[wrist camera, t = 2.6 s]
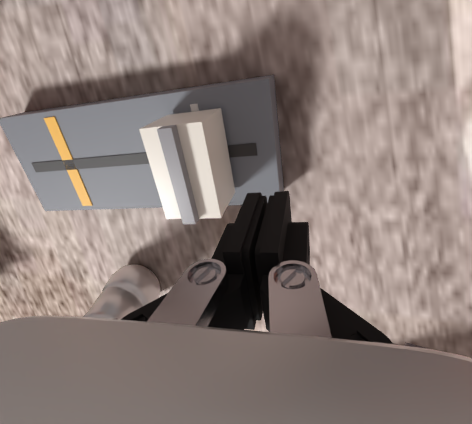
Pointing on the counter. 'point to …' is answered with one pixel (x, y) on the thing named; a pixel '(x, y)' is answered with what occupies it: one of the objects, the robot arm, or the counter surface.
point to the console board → (142, 145)
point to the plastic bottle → (125, 293)
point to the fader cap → (190, 164)
